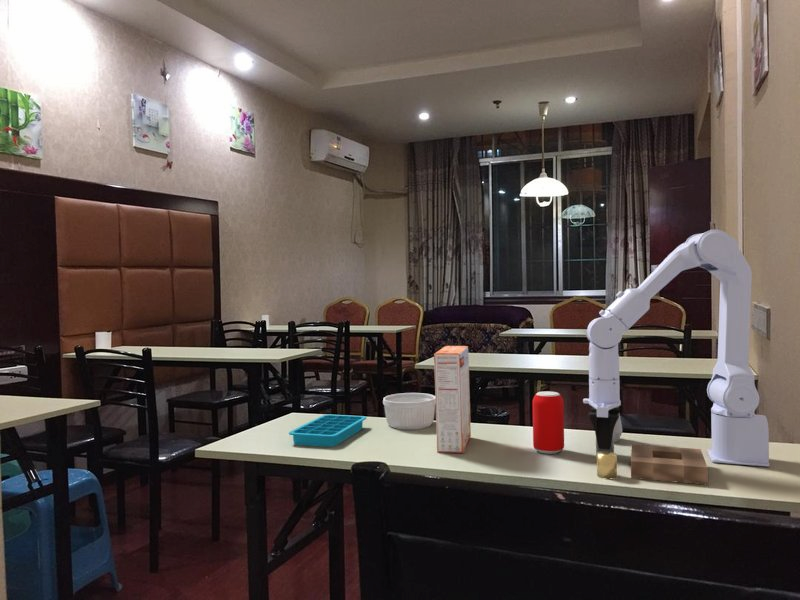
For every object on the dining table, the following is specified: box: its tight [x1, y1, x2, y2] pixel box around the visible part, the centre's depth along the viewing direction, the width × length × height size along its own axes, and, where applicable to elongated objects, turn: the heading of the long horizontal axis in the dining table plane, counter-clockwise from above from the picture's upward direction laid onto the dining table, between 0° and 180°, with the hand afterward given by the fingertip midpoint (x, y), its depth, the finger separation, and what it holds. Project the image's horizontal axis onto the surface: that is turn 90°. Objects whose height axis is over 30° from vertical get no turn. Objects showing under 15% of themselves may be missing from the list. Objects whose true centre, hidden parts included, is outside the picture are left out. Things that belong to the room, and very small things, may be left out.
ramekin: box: [382, 392, 436, 431], centre depth 149 cm, size 13×13×7 cm
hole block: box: [630, 443, 709, 486], centre depth 108 cm, size 12×12×3 cm
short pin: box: [596, 451, 618, 480], centre depth 106 cm, size 3×3×4 cm
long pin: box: [595, 430, 615, 457], centre depth 119 cm, size 3×3×7 cm
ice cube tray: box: [288, 414, 367, 448], centre depth 140 cm, size 12×20×3 cm, turn 162°
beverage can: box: [532, 390, 565, 455], centre depth 123 cm, size 6×6×12 cm
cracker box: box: [433, 345, 472, 454], centre depth 129 cm, size 14×6×21 cm, turn 167°
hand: (605, 446), depth 119 cm, fingers closed on long pin, 3 cm apart
